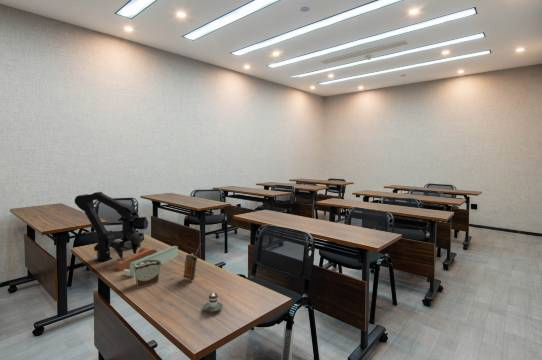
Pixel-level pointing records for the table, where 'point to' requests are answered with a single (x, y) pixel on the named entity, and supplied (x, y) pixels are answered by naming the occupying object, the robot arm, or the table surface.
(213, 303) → the grey knobbed lid
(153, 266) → the food container
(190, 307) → the table surface
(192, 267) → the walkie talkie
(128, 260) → the crank
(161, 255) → the chute mount
